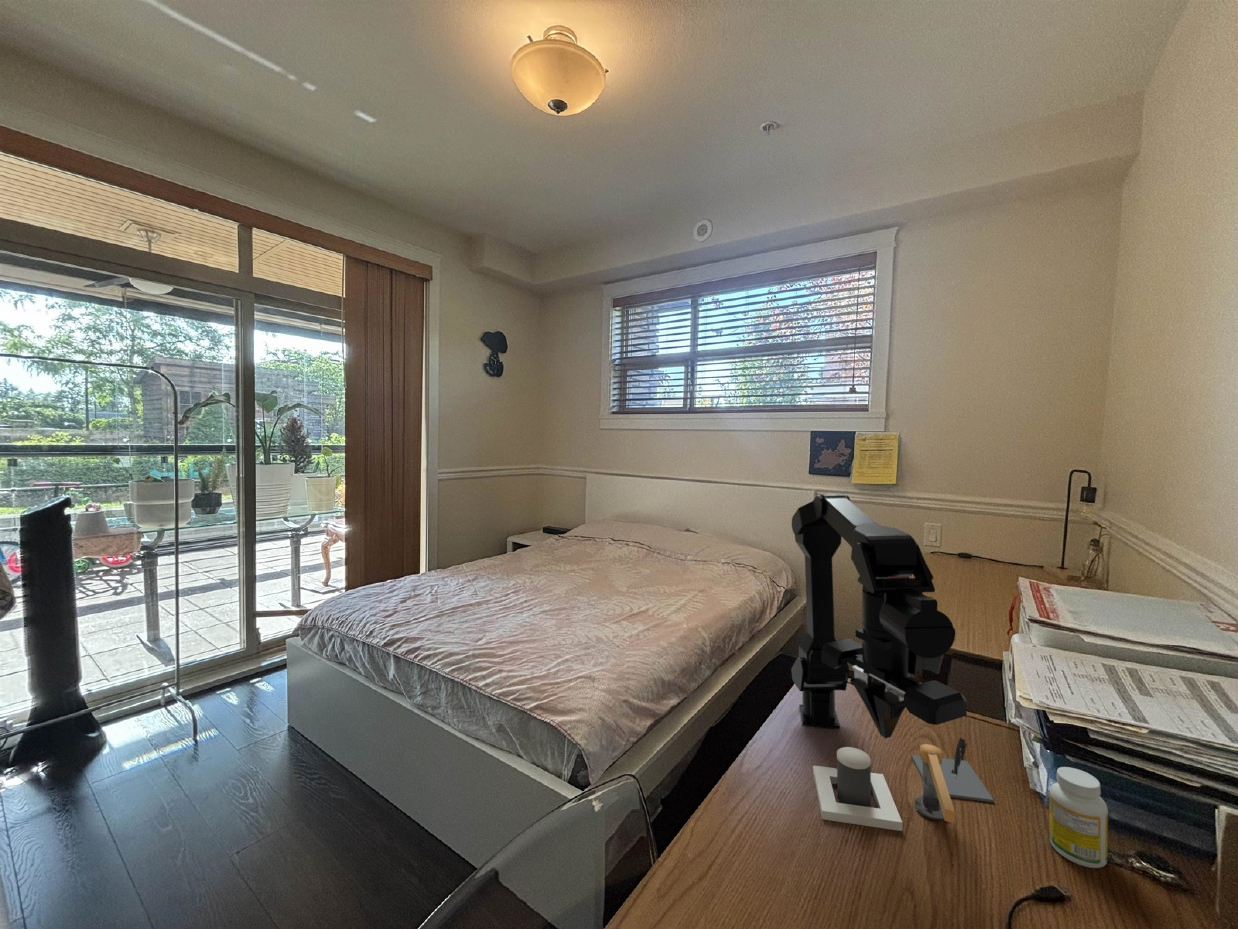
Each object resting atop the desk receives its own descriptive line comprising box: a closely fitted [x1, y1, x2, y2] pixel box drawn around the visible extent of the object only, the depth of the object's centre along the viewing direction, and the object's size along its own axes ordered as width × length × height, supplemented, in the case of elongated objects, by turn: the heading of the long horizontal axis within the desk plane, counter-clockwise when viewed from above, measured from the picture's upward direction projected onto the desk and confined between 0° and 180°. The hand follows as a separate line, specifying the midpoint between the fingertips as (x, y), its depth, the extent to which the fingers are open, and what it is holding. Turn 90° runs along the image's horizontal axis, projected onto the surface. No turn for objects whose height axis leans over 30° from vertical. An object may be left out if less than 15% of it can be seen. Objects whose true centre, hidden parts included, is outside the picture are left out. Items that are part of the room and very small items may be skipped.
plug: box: [836, 746, 872, 807], centre depth 72 cm, size 4×4×6 cm
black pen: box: [951, 737, 966, 778], centre depth 81 cm, size 12×1×1 cm, turn 141°
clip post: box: [914, 761, 945, 822], centre depth 70 cm, size 4×4×7 cm
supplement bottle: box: [1049, 766, 1109, 869], centre depth 62 cm, size 5×5×10 cm
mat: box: [910, 754, 995, 803], centre depth 76 cm, size 9×8×1 cm
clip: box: [919, 743, 956, 824], centre depth 65 cm, size 3×14×1 cm, turn 157°
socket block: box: [812, 765, 903, 832], centre depth 72 cm, size 10×10×1 cm
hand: (885, 736), depth 69 cm, fingers closed
